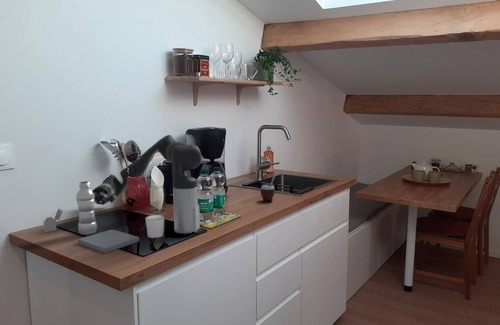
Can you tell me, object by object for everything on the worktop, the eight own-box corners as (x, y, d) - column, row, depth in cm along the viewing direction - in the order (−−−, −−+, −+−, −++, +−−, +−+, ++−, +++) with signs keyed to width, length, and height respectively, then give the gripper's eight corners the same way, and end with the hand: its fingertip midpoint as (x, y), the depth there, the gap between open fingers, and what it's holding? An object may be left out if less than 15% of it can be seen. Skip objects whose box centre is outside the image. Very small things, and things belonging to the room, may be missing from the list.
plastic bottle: (91, 237, 149) (87, 184, 146) (74, 236, 151) (71, 183, 148) (100, 232, 156) (97, 180, 153) (85, 230, 157) (81, 180, 154)
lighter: (45, 232, 156) (43, 212, 155) (43, 231, 157) (42, 211, 156) (64, 228, 161) (63, 208, 159) (63, 227, 162) (61, 207, 161)
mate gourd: (257, 200, 204) (257, 171, 202) (269, 198, 209) (270, 169, 207) (267, 203, 198) (267, 173, 196) (279, 201, 203) (279, 171, 201)
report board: (139, 241, 145) (139, 237, 145) (105, 252, 134) (105, 248, 134) (112, 232, 154) (111, 229, 154) (78, 243, 143) (77, 239, 143)
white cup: (157, 231, 156) (156, 213, 155) (168, 234, 152) (168, 216, 151) (142, 235, 151) (141, 217, 150) (153, 239, 147) (153, 220, 146)
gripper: (120, 201, 175) (110, 211, 159) (86, 202, 174) (73, 212, 158) (119, 184, 174) (109, 192, 158) (85, 185, 173) (71, 193, 157)
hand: (91, 202), depth 158 cm, fingers open, 8 cm apart
